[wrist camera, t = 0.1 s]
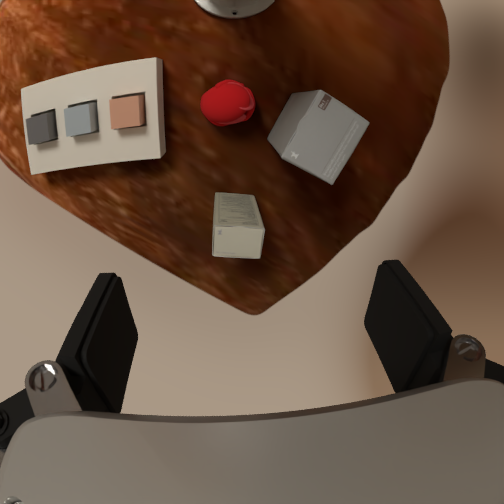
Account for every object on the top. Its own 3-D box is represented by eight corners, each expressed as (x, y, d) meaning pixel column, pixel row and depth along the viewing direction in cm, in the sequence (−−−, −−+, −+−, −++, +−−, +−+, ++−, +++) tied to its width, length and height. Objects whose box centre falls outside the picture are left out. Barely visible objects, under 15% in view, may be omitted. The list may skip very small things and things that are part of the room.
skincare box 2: (302, 158, 45) (336, 193, 31) (260, 136, 43) (277, 161, 29) (330, 111, 41) (377, 126, 28) (289, 87, 39) (320, 88, 26)
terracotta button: (116, 98, 35) (109, 99, 33) (144, 94, 35) (138, 95, 33) (118, 126, 37) (111, 129, 35) (145, 122, 38) (139, 125, 35)
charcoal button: (36, 115, 34) (25, 119, 32) (56, 110, 35) (46, 113, 32) (38, 140, 36) (28, 145, 34) (59, 136, 37) (49, 140, 34)
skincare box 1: (213, 217, 49) (209, 257, 38) (215, 190, 47) (212, 224, 36) (252, 220, 50) (260, 260, 39) (256, 194, 47) (265, 228, 37)
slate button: (73, 106, 35) (63, 108, 32) (97, 101, 35) (88, 103, 32) (75, 133, 37) (66, 136, 34) (99, 128, 37) (91, 132, 34)
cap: (260, 76, 36) (221, 69, 32) (264, 118, 37) (223, 114, 33) (227, 93, 42) (191, 89, 38) (230, 130, 43) (193, 128, 40)
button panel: (34, 87, 34) (21, 88, 31) (162, 59, 36) (156, 57, 32) (43, 167, 41) (31, 174, 38) (166, 151, 43) (160, 158, 39)
